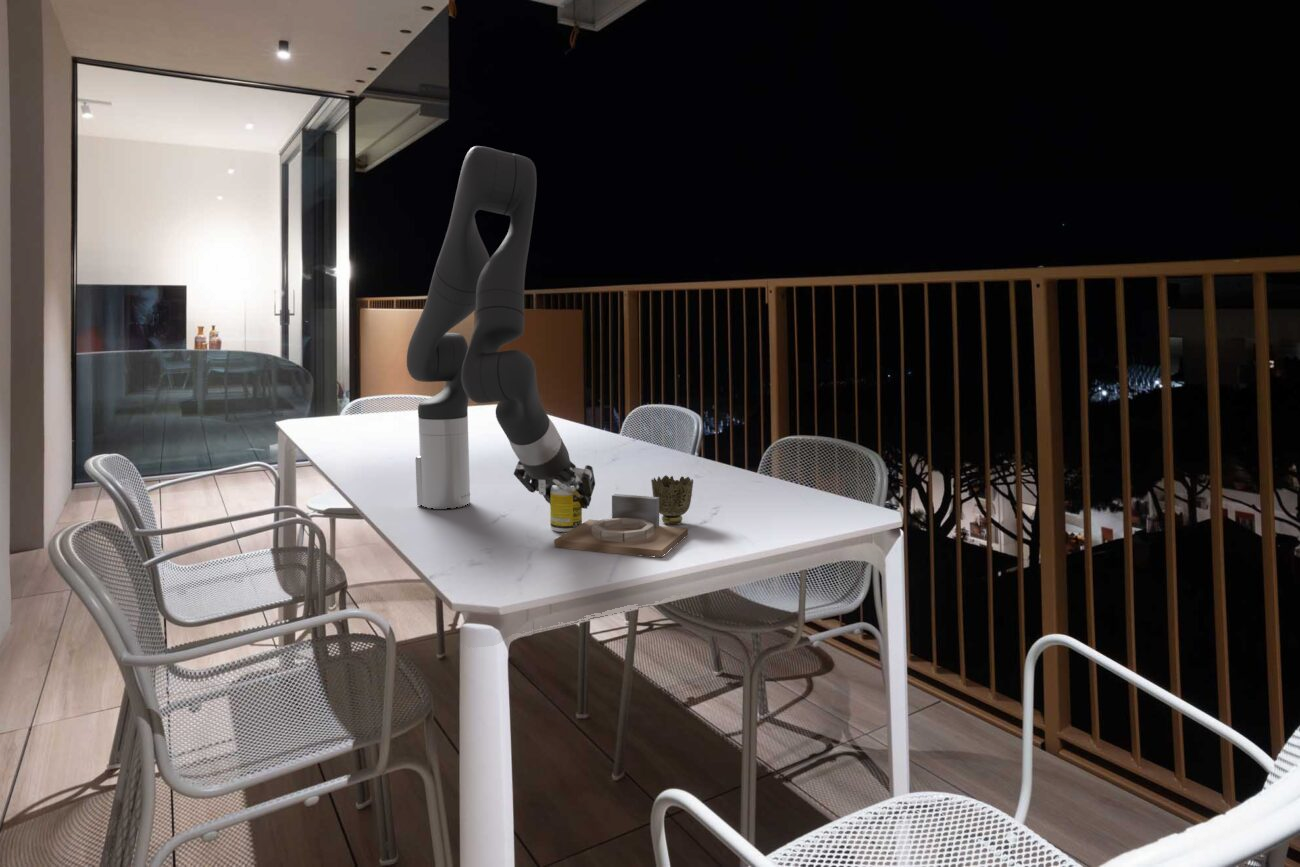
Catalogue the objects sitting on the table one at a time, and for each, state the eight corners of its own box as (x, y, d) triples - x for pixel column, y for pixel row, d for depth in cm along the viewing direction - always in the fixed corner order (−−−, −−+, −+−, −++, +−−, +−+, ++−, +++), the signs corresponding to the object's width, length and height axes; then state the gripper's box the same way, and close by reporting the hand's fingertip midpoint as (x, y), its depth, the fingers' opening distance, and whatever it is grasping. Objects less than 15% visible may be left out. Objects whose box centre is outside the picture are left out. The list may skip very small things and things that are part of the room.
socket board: (554, 547, 130) (553, 509, 129) (589, 526, 143) (589, 491, 142) (661, 558, 124) (661, 518, 123) (687, 535, 137) (688, 499, 136)
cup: (698, 520, 147) (698, 476, 146) (686, 530, 140) (686, 484, 139) (658, 516, 150) (659, 474, 149) (645, 526, 143) (645, 481, 142)
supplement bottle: (577, 533, 138) (576, 476, 136) (546, 532, 139) (545, 475, 137) (585, 525, 143) (585, 470, 142) (556, 524, 144) (555, 469, 143)
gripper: (586, 428, 129) (614, 487, 142) (505, 424, 134) (540, 482, 147) (572, 467, 125) (603, 524, 138) (489, 461, 129) (526, 517, 142)
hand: (570, 502), depth 142 cm, fingers closed on supplement bottle, 5 cm apart
